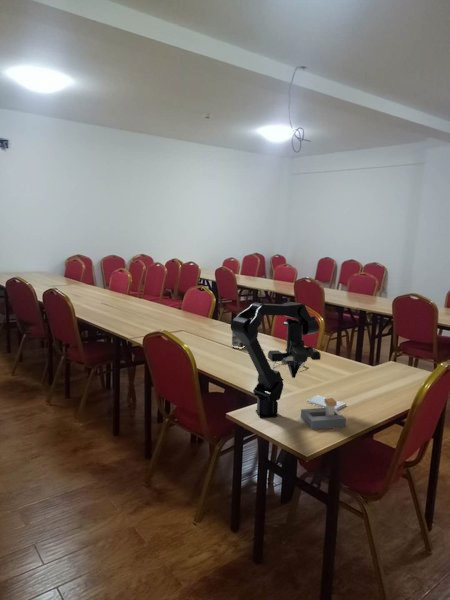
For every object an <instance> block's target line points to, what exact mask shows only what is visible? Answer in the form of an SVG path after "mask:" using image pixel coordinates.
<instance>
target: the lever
mask: <svg viewBox="0 0 450 600" xmlns="http://www.w3.org/2000/svg"><path fill="white" fill-rule="evenodd" d="M326 398H327V399H325V403H326V416H331V415H334V410H335V406H336V405H337V402H336V401H337V400H336V401H335V399H334V398H333V397H331V398H328V397H326Z"/></svg>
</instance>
